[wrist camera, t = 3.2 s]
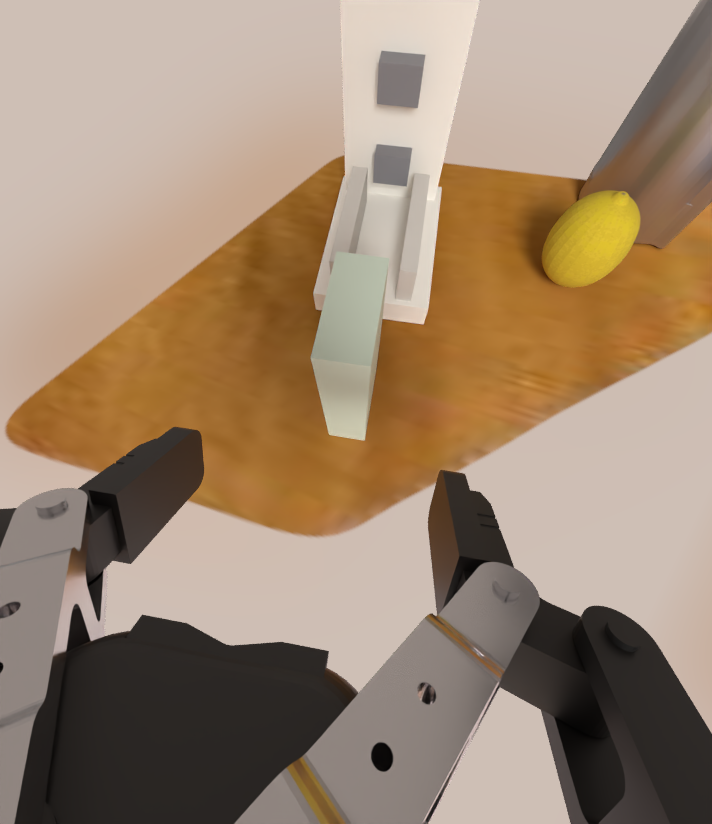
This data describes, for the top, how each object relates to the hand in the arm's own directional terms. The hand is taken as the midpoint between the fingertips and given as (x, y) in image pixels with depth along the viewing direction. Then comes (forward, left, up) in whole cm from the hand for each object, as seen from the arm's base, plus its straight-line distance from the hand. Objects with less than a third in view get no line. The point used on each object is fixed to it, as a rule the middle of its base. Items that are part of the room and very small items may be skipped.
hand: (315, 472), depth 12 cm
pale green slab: (+4, -7, -12) cm, 15 cm away
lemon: (-2, -27, -13) cm, 30 cm away
